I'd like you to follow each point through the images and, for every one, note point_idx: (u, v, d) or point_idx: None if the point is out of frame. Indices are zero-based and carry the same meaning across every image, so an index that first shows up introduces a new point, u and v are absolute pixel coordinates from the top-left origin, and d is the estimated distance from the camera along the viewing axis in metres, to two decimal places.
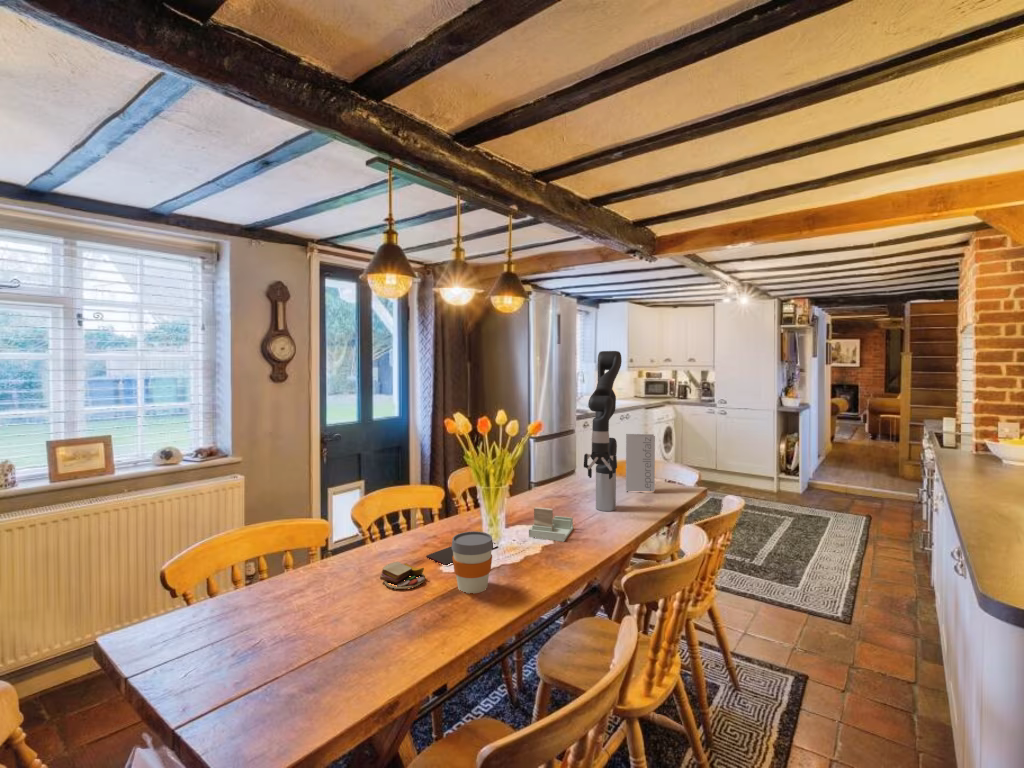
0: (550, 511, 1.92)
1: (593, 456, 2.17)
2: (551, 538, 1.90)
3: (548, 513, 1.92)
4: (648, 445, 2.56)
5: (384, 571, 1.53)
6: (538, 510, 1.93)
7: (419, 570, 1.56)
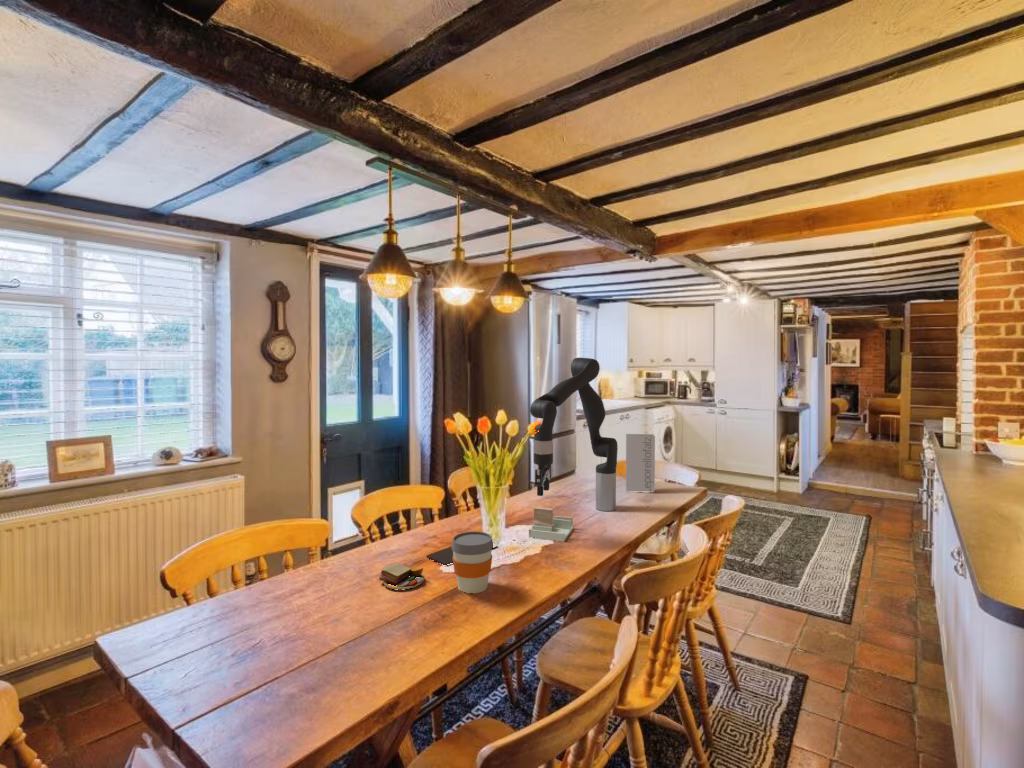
0: (550, 511, 1.92)
1: (543, 470, 1.90)
2: (551, 538, 1.90)
3: (548, 513, 1.92)
4: (648, 445, 2.56)
5: (383, 572, 1.53)
6: (538, 510, 1.93)
7: (418, 570, 1.55)
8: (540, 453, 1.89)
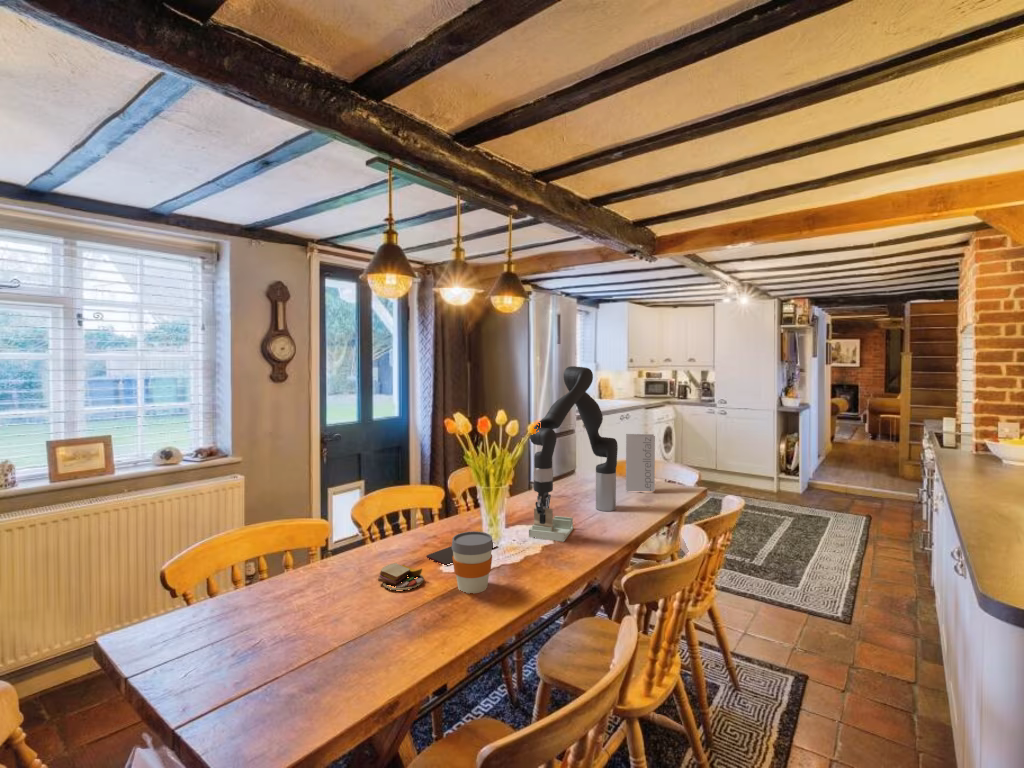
0: (550, 511, 1.92)
1: (543, 498, 1.90)
2: (551, 538, 1.90)
3: (548, 513, 1.92)
4: (648, 445, 2.56)
5: (382, 573, 1.52)
6: None
7: (417, 571, 1.55)
8: (540, 481, 1.90)
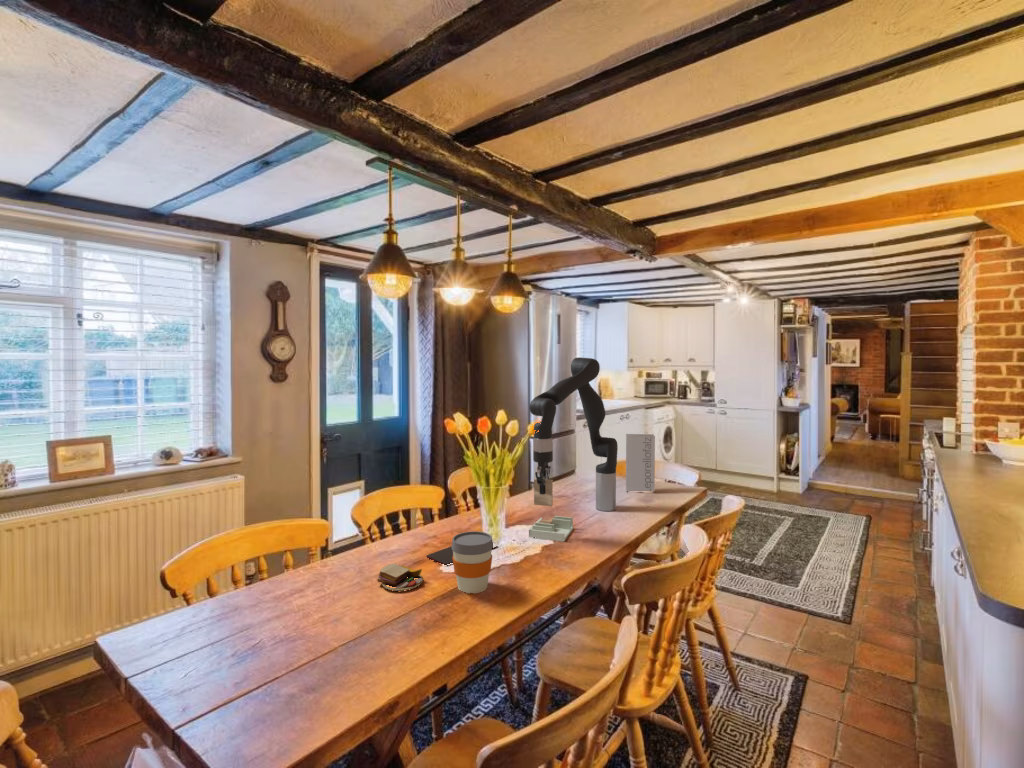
0: (550, 482, 1.91)
1: (543, 468, 1.90)
2: (551, 538, 1.90)
3: (548, 484, 1.92)
4: (648, 445, 2.56)
5: (382, 573, 1.51)
6: None
7: (417, 571, 1.55)
8: (540, 451, 1.89)
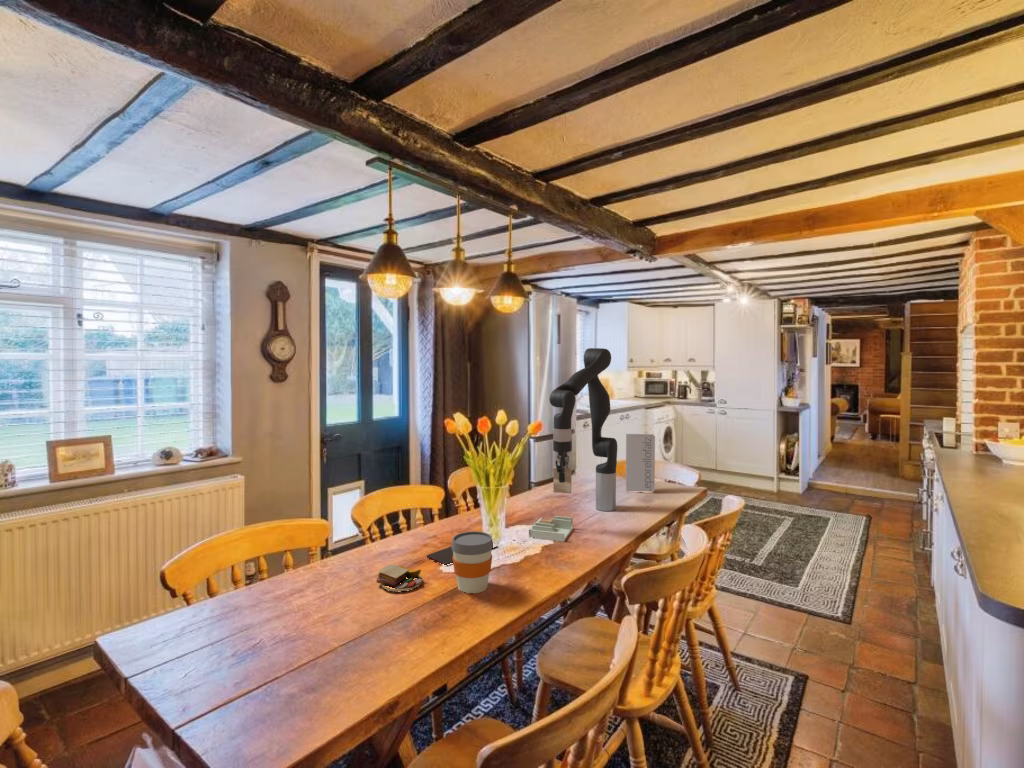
0: (569, 470, 1.99)
1: (563, 457, 1.98)
2: (551, 538, 1.90)
3: (567, 472, 2.00)
4: (648, 445, 2.56)
5: (381, 574, 1.51)
6: None
7: (416, 572, 1.54)
8: (560, 441, 1.97)
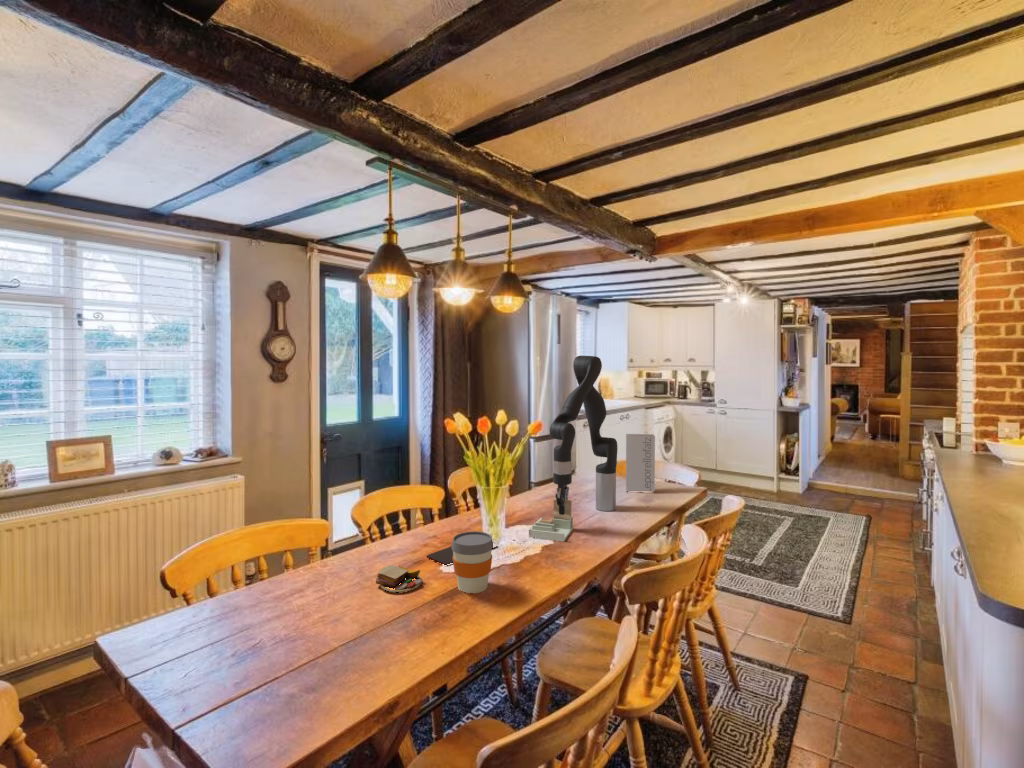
0: (569, 502, 2.00)
1: (563, 489, 1.98)
2: (551, 538, 1.90)
3: (567, 504, 2.00)
4: (648, 445, 2.56)
5: (380, 575, 1.50)
6: None
7: (415, 572, 1.54)
8: (560, 473, 1.98)
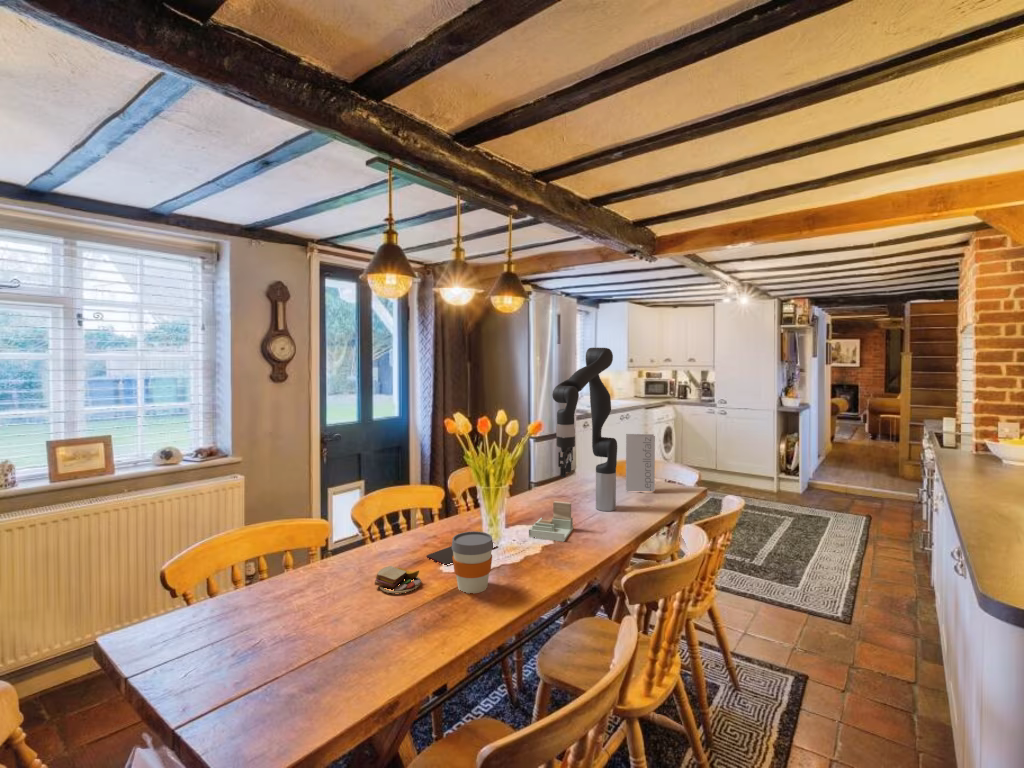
0: (569, 505, 2.00)
1: (566, 452, 1.98)
2: (551, 538, 1.90)
3: (567, 507, 2.00)
4: (648, 445, 2.56)
5: (379, 576, 1.49)
6: (557, 504, 2.02)
7: (414, 573, 1.54)
8: (563, 436, 1.97)
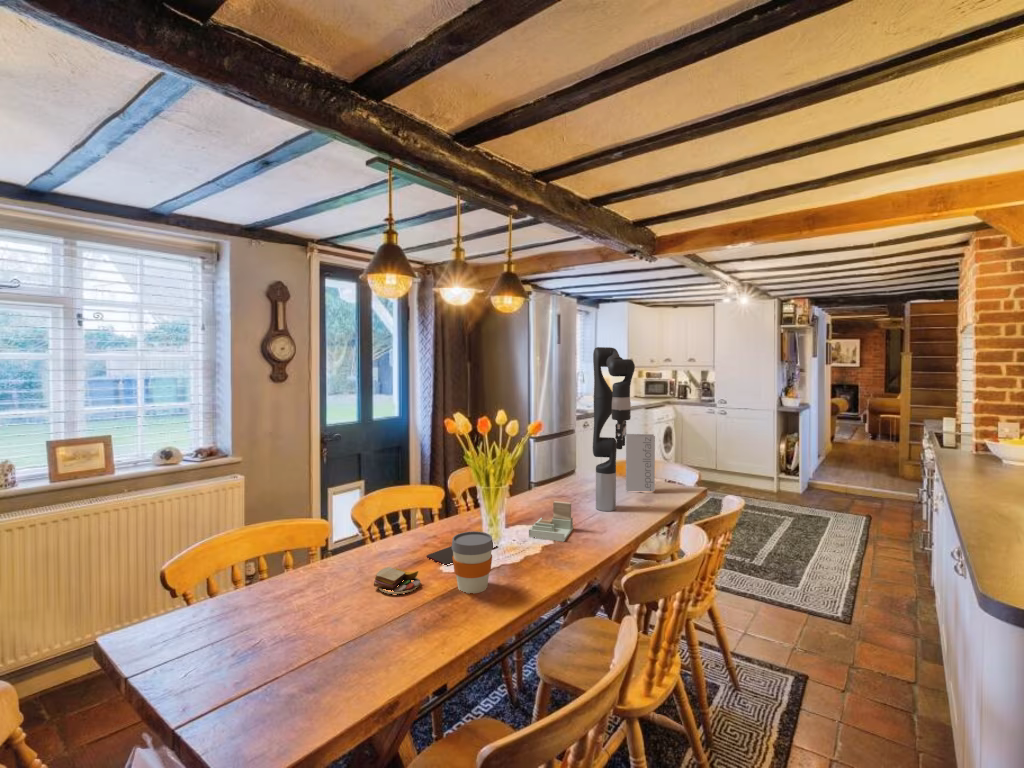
0: (569, 505, 2.00)
1: (622, 425, 2.00)
2: (551, 538, 1.90)
3: (567, 507, 2.00)
4: (648, 445, 2.56)
5: (378, 577, 1.49)
6: (557, 504, 2.02)
7: (413, 574, 1.53)
8: (619, 409, 1.99)
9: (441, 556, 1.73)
